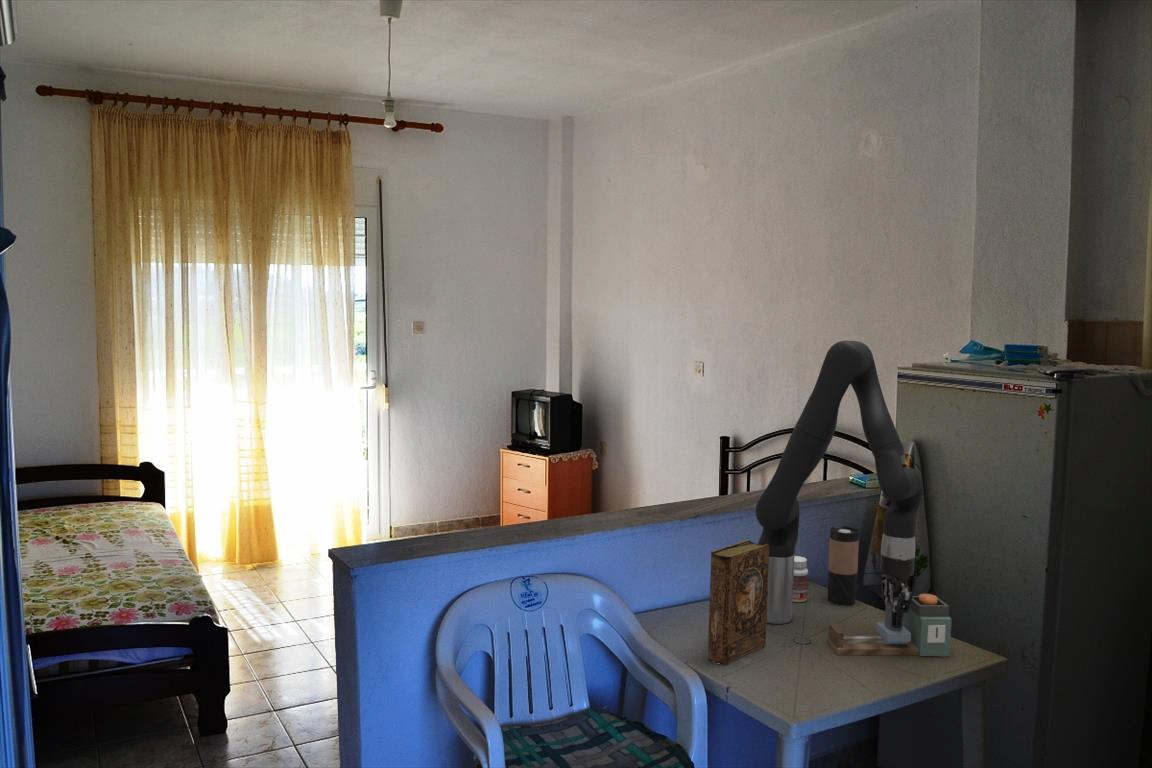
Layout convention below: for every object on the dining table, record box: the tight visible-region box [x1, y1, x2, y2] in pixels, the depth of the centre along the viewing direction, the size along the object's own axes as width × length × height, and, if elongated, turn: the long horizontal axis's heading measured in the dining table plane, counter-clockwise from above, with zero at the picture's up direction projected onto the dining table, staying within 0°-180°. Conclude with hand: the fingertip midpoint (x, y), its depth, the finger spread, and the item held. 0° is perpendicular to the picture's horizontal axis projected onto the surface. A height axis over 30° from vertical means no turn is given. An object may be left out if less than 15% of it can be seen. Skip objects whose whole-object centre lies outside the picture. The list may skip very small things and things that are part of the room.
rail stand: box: [826, 623, 919, 657], centre depth 215 cm, size 19×8×5 cm, turn 93°
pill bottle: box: [793, 555, 809, 603], centre depth 248 cm, size 6×6×11 cm
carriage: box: [875, 601, 911, 644], centre depth 214 cm, size 6×7×9 cm
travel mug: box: [827, 525, 860, 606], centre depth 246 cm, size 8×8×20 cm
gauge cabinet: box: [903, 595, 953, 658], centre depth 215 cm, size 7×10×12 cm, turn 3°
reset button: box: [918, 593, 938, 605], centre depth 214 cm, size 4×4×2 cm
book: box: [707, 539, 769, 665], centre depth 210 cm, size 16×6×25 cm, turn 134°
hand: (893, 624), depth 215 cm, fingers closed on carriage, 3 cm apart
